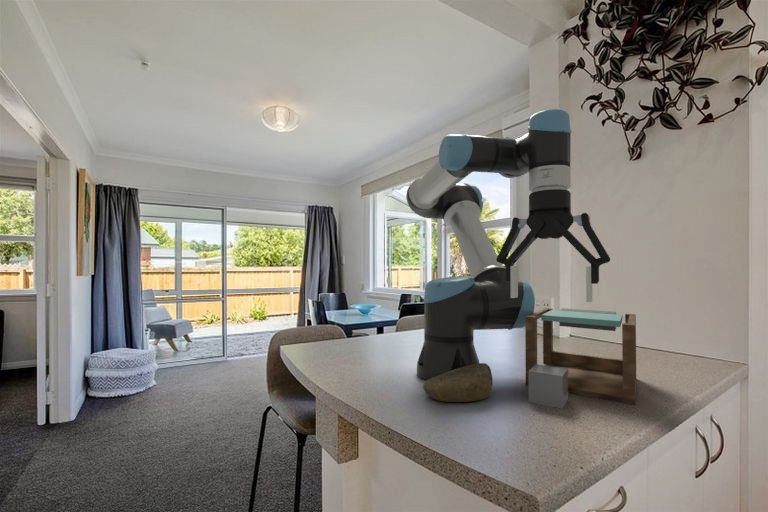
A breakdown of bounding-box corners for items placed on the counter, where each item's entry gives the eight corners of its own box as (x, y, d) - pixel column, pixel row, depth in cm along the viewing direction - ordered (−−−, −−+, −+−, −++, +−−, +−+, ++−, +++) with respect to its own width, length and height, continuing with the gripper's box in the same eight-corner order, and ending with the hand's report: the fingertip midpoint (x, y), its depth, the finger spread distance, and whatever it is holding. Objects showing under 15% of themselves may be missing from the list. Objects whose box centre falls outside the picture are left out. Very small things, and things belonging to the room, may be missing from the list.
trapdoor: (541, 333, 84) (541, 315, 84) (556, 322, 99) (556, 307, 99) (620, 341, 75) (620, 321, 75) (623, 328, 91) (623, 311, 91)
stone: (511, 393, 73) (493, 351, 71) (454, 436, 69) (433, 393, 67) (486, 377, 81) (468, 338, 79) (433, 414, 77) (413, 375, 75)
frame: (525, 385, 82) (525, 316, 82) (544, 365, 98) (544, 308, 99) (635, 404, 70) (634, 325, 71) (636, 378, 87) (635, 314, 87)
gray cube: (528, 402, 72) (528, 370, 72) (535, 393, 77) (535, 364, 77) (562, 409, 68) (562, 376, 68) (567, 399, 73) (567, 369, 73)
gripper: (481, 194, 77) (481, 297, 77) (624, 180, 63) (625, 305, 63) (492, 200, 83) (492, 295, 83) (625, 187, 69) (626, 301, 69)
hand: (549, 299), depth 73 cm, fingers open, 13 cm apart
